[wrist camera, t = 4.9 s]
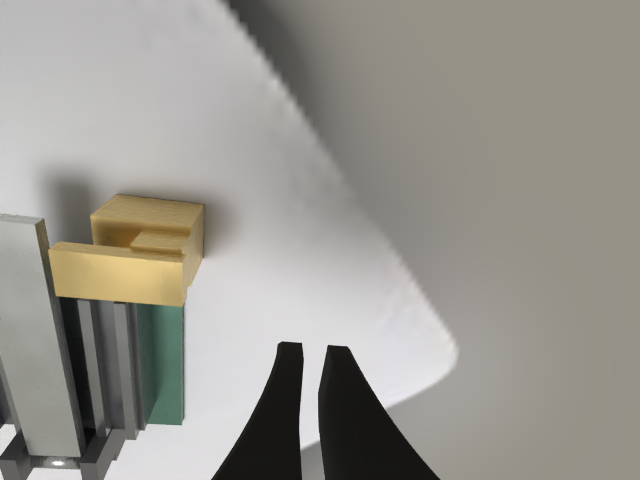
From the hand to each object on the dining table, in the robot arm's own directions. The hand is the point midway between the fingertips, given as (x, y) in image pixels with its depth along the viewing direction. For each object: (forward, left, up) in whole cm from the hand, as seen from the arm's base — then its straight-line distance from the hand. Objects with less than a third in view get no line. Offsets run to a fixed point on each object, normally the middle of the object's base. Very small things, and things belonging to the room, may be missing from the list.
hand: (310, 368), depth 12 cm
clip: (0, -7, -9) cm, 11 cm away
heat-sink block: (+7, -12, -9) cm, 16 cm away
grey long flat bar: (+6, -12, -6) cm, 14 cm away
